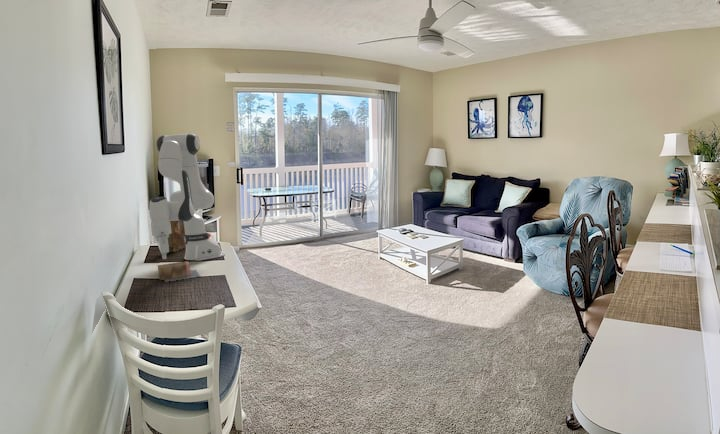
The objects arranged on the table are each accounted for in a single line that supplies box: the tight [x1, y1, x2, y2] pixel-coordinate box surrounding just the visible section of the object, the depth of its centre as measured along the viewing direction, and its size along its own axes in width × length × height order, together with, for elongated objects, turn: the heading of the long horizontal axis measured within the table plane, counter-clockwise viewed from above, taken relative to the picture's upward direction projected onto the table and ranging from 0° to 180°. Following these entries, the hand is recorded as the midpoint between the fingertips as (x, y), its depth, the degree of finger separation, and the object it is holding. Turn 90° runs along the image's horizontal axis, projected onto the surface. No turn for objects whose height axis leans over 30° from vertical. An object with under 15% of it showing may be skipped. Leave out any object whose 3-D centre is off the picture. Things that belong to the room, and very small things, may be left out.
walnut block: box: [157, 260, 191, 281], centre depth 230 cm, size 6×6×14 cm
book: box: [168, 221, 186, 253], centre depth 288 cm, size 16×6×25 cm, turn 168°
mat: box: [164, 269, 201, 283], centre depth 231 cm, size 16×14×1 cm
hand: (164, 258), depth 227 cm, fingers closed
